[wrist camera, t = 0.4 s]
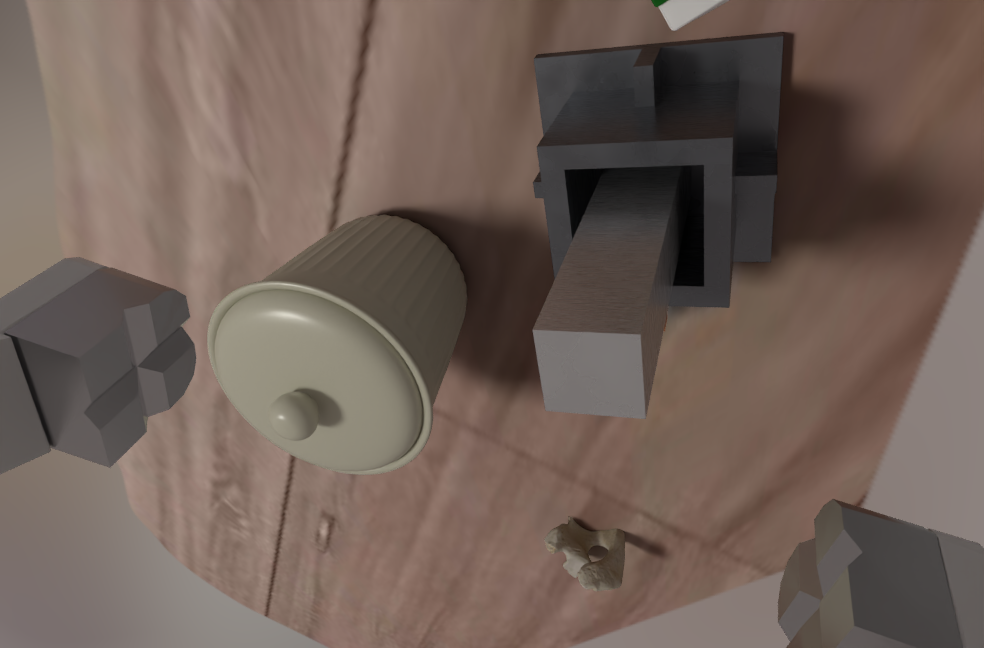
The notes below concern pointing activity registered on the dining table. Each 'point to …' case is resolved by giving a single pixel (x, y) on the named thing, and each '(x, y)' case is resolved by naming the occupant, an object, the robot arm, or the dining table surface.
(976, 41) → the dining table surface
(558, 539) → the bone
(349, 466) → the canister
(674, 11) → the milk carton
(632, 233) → the column
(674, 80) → the stand
